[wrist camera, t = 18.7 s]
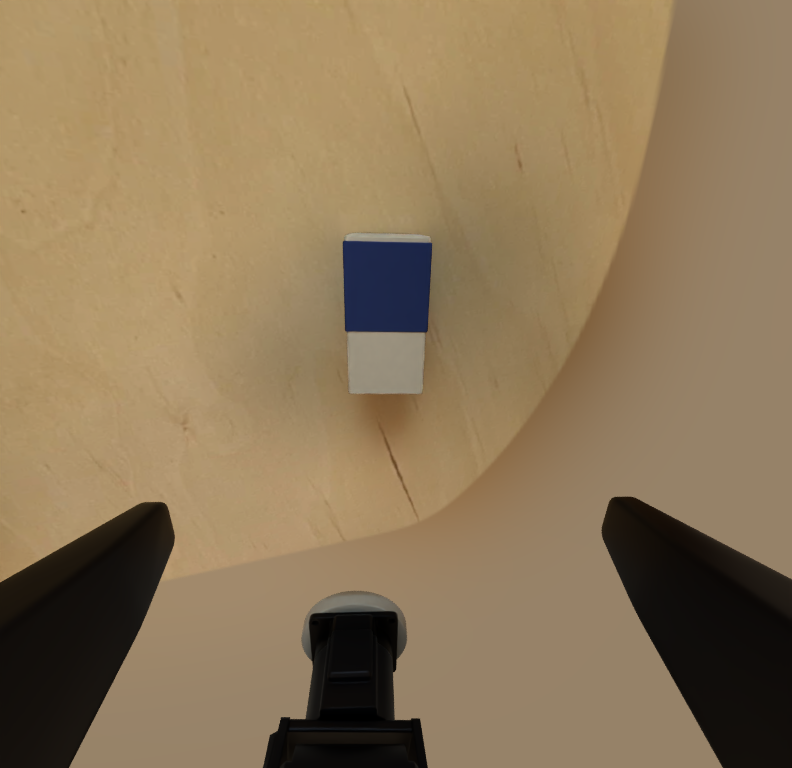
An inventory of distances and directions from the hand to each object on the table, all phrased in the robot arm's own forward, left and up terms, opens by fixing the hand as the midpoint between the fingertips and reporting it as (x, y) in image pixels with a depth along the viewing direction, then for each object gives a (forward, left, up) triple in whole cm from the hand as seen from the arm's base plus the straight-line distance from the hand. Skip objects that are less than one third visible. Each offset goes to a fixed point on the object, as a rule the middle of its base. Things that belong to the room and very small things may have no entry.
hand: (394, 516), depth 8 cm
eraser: (+2, 0, -12) cm, 12 cm away
